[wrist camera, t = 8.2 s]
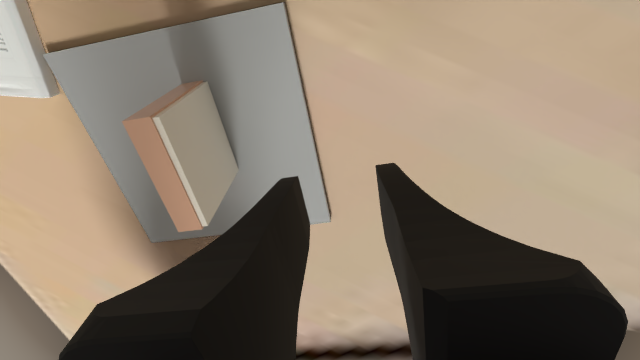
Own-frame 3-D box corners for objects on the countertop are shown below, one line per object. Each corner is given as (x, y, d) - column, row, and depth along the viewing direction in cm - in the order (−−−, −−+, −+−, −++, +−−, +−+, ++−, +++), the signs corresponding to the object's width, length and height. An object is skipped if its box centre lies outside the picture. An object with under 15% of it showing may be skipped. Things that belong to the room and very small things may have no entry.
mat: (330, 218, 24) (330, 222, 23) (154, 239, 26) (151, 242, 25) (284, 1, 17) (283, 2, 17) (47, 53, 19) (42, 54, 19)
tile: (239, 170, 22) (207, 228, 17) (216, 173, 22) (178, 232, 17) (207, 79, 19) (156, 115, 14) (181, 84, 19) (121, 121, 14)
